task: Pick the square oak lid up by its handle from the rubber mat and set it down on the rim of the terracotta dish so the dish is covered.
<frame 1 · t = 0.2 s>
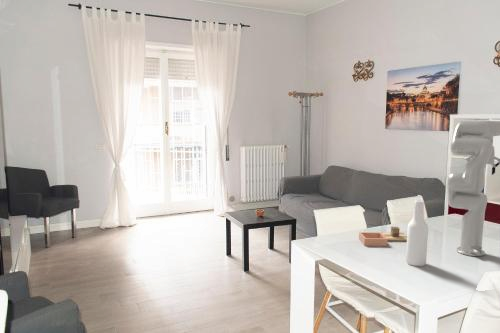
hand: (482, 173, 225), 37 cm above the table, tool pointing down, fingers open, 9 cm apart
dish: (372, 243, 217), on the table
lid: (394, 237, 225), point 1 cm above the table, touching mat
alcohol: (415, 263, 187), on the table
mat: (394, 238, 226), on the table
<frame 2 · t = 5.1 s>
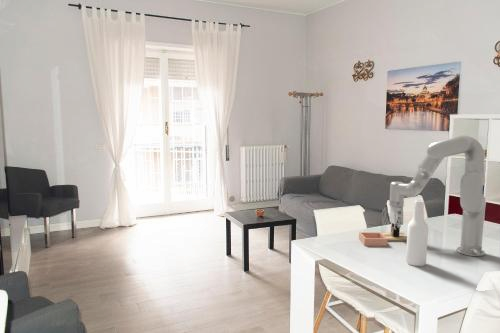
hand: (394, 235, 225), 2 cm above the table, tool pointing down, fingers closed on lid, 3 cm apart
lid: (394, 237, 225), point 1 cm above the table, touching gripper, mat
everything else where it was.
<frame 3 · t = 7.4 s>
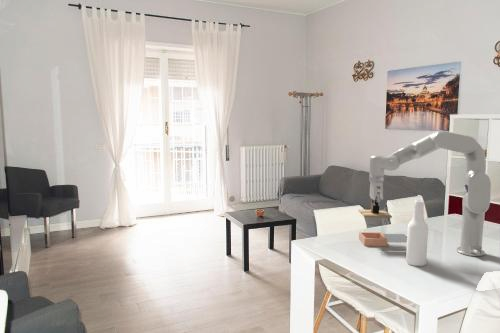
hand: (374, 211, 215), 18 cm above the table, tool pointing down, fingers closed on lid, 3 cm apart
lid: (374, 214, 216), point 16 cm above the table, touching gripper
everything else where it was.
when the fingers open (7 cm above the table, at t = 9.7 s): lid stays where it is, resting on dish.
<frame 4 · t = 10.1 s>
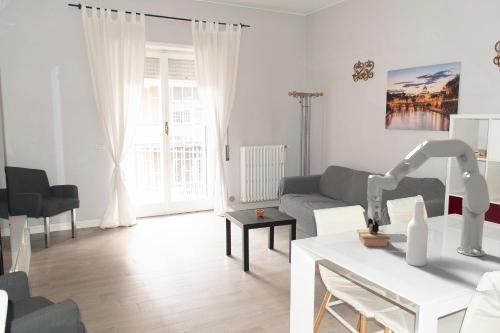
hand: (373, 229, 216), 8 cm above the table, tool pointing down, fingers open, 8 cm apart
lid: (373, 235, 216), point 4 cm above the table, touching dish
everything else where it was.
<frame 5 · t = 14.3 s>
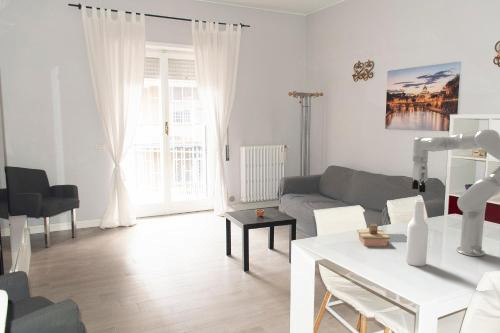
hand: (418, 190, 220), 28 cm above the table, tool pointing down, fingers open, 9 cm apart
nothing on the table moved.
at the end: lid 0.1 cm off-centre on the dish, point 4.5 cm above the dish's base; lid tilted 0°; the gripper is holding nothing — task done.
